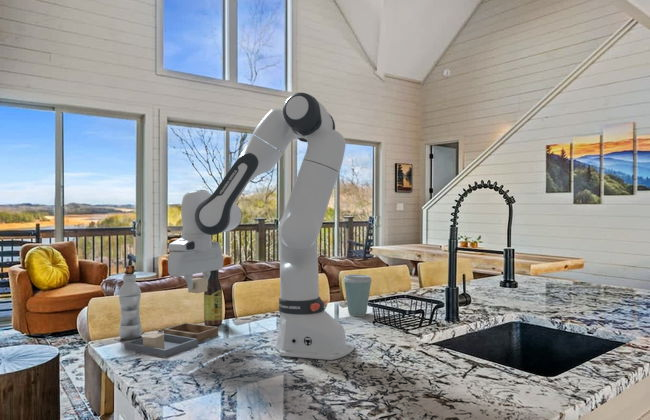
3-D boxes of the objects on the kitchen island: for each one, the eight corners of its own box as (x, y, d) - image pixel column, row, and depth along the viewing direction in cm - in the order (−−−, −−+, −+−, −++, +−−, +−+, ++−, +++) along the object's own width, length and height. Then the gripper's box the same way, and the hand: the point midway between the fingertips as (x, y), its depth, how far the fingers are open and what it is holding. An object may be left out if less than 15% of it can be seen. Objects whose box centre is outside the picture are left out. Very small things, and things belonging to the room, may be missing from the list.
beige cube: (164, 348, 130) (164, 334, 130) (154, 352, 126) (154, 338, 126) (152, 347, 131) (152, 333, 131) (143, 351, 128) (142, 337, 128)
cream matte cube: (197, 290, 144) (197, 277, 144) (207, 291, 142) (207, 278, 142) (188, 292, 141) (188, 279, 141) (198, 293, 139) (197, 280, 139)
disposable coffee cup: (356, 310, 178) (355, 271, 178) (378, 314, 171) (377, 274, 171) (337, 315, 171) (337, 274, 171) (360, 319, 163) (359, 277, 163)
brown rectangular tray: (218, 336, 143) (218, 327, 143) (197, 344, 135) (197, 334, 135) (185, 331, 150) (185, 322, 150) (164, 338, 142) (163, 329, 142)
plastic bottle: (146, 337, 144) (145, 274, 144) (129, 343, 138) (128, 277, 138) (131, 335, 147) (130, 273, 147) (114, 341, 140) (113, 276, 140)
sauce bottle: (217, 326, 156) (216, 268, 156) (200, 326, 158) (199, 268, 158) (225, 322, 163) (224, 266, 163) (209, 321, 164) (208, 266, 164)
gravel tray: (197, 347, 133) (197, 338, 133) (165, 359, 122) (164, 350, 122) (158, 340, 140) (158, 332, 140) (125, 351, 130) (124, 342, 130)
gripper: (212, 240, 152) (213, 282, 152) (163, 245, 134) (165, 292, 134) (227, 240, 149) (228, 283, 149) (179, 245, 131) (180, 293, 131)
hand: (197, 287), depth 141 cm, fingers closed on cream matte cube, 4 cm apart
